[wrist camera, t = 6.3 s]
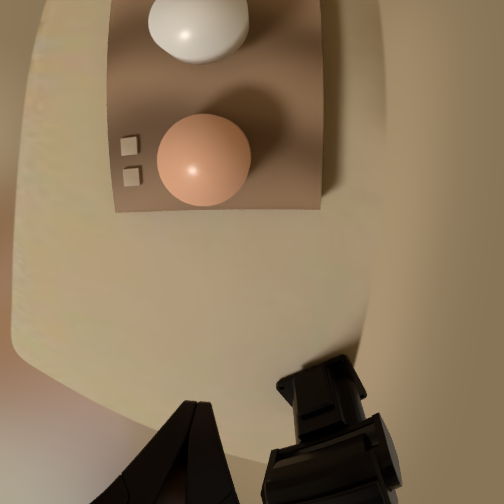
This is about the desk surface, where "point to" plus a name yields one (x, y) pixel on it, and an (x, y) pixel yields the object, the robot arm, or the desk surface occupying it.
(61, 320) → the desk surface
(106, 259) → the desk surface
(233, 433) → the desk surface
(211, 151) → the terracotta button
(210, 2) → the grey button
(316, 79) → the console
